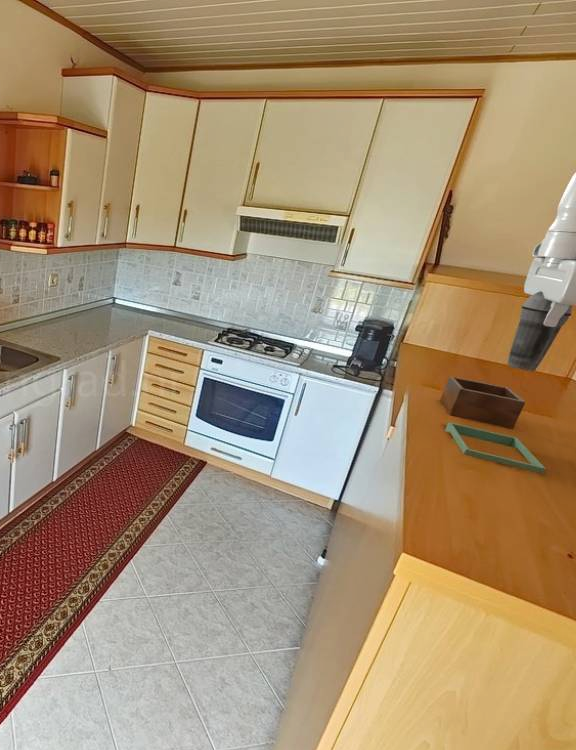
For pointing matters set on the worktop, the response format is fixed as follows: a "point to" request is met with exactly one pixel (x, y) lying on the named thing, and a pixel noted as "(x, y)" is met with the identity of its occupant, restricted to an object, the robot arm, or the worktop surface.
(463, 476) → the worktop surface
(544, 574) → the worktop surface
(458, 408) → the brown rectangular open box
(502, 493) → the worktop surface
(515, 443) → the green rectangular frame
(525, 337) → the beverage cup
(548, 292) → the robot arm
